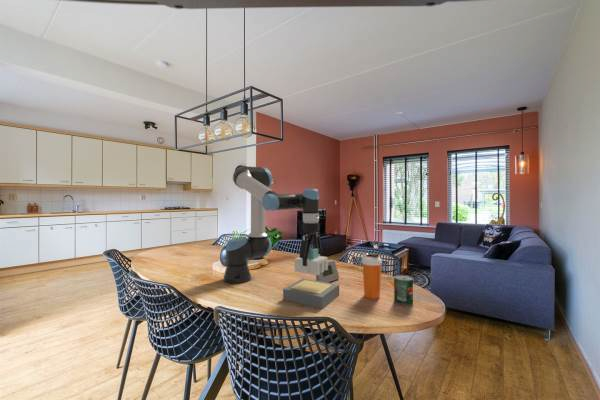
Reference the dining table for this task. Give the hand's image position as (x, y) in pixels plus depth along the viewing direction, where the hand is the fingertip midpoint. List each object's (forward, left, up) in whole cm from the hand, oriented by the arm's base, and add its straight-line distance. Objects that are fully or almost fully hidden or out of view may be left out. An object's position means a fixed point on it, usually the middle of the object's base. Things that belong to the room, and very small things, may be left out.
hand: (311, 269), depth 126 cm
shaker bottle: (+24, +15, -13) cm, 31 cm away
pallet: (0, 0, 0) cm, 0 cm away
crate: (0, 0, +6) cm, 6 cm away
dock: (0, 0, -13) cm, 13 cm away
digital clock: (-4, +25, -13) cm, 28 cm away
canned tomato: (+38, +15, -13) cm, 43 cm away
